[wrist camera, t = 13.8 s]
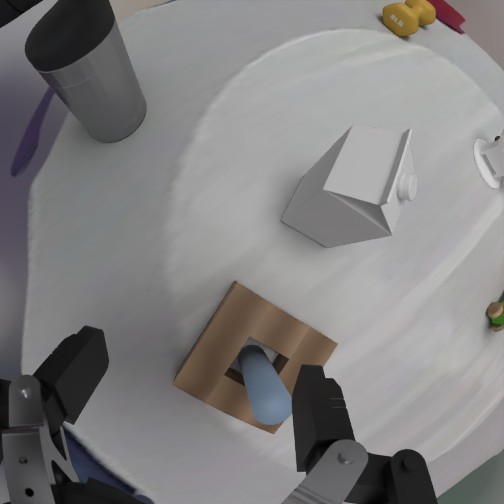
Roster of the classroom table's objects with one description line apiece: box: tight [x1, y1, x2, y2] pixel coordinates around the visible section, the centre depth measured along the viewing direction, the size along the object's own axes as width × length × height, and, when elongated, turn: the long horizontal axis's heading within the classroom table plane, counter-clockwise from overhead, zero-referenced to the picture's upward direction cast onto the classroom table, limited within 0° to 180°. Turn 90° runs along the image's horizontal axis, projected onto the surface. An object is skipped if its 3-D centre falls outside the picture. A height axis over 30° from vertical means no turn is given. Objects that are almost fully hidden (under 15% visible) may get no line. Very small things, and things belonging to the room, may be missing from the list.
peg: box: [238, 345, 292, 425], centre depth 27 cm, size 3×3×14 cm
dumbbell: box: [383, 0, 435, 36], centre depth 38 cm, size 19×9×8 cm, turn 135°
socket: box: [172, 281, 338, 434], centre depth 32 cm, size 14×14×4 cm
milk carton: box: [281, 124, 417, 248], centre depth 27 cm, size 7×7×19 cm
